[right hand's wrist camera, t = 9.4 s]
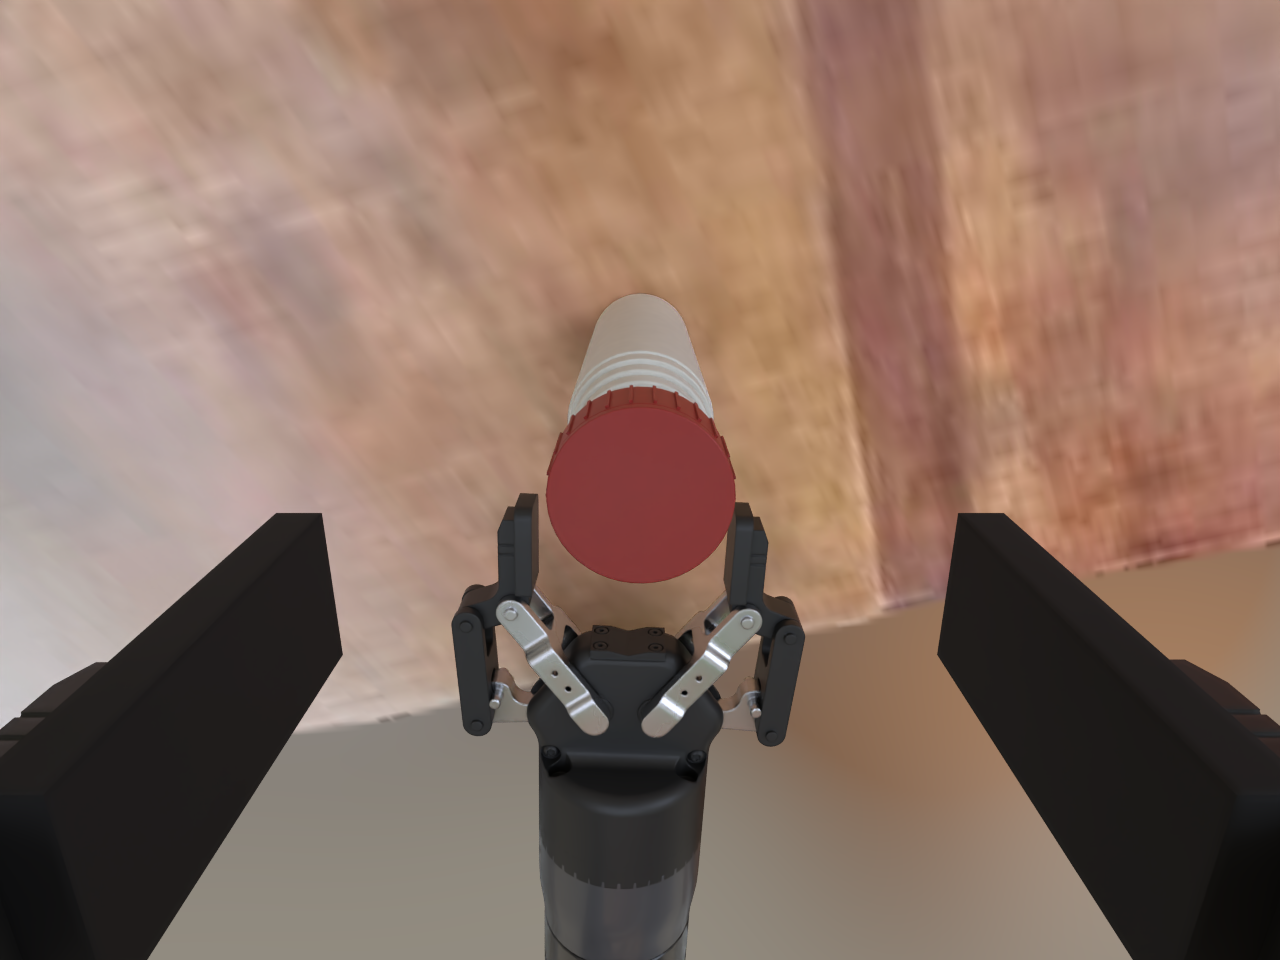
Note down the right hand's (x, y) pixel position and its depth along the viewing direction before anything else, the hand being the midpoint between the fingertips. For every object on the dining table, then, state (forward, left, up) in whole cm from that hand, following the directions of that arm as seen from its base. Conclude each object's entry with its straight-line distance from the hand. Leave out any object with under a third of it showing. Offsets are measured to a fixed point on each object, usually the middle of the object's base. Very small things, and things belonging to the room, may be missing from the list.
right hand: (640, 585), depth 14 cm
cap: (0, 0, -4) cm, 4 cm away
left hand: (+2, +5, -17) cm, 18 cm away
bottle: (0, 0, -23) cm, 23 cm away
